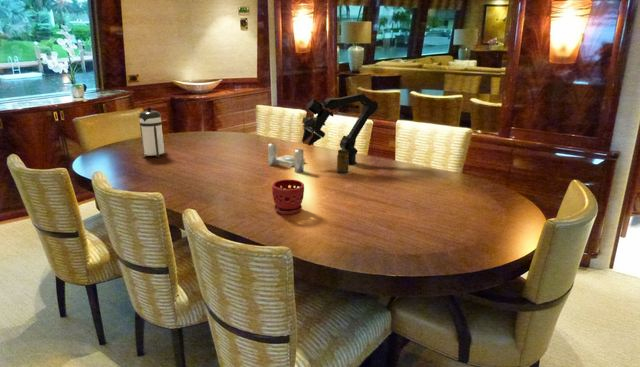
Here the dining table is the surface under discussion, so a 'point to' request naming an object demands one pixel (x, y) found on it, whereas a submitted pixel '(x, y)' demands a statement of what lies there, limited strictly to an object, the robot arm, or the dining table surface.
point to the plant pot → (288, 196)
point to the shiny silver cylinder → (299, 160)
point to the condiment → (342, 162)
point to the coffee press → (151, 133)
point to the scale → (287, 160)
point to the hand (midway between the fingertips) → (305, 143)
